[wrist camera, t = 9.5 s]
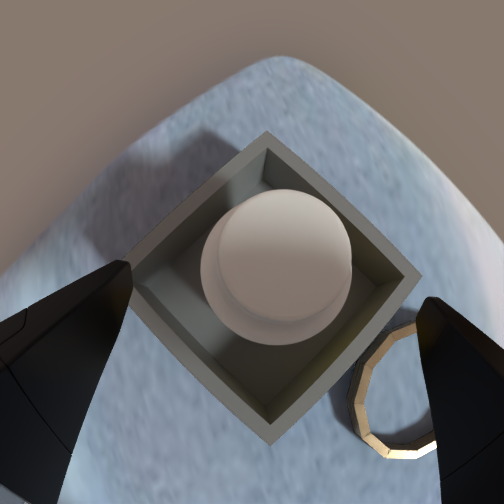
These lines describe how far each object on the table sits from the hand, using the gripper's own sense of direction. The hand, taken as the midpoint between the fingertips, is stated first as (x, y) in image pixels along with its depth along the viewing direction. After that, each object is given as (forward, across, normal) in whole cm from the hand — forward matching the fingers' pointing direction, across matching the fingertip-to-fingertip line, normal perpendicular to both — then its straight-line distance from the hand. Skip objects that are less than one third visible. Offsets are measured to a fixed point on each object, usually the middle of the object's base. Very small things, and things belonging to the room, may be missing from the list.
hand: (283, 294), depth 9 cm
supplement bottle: (+8, 0, +6) cm, 10 cm away
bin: (+8, 0, +6) cm, 11 cm away
